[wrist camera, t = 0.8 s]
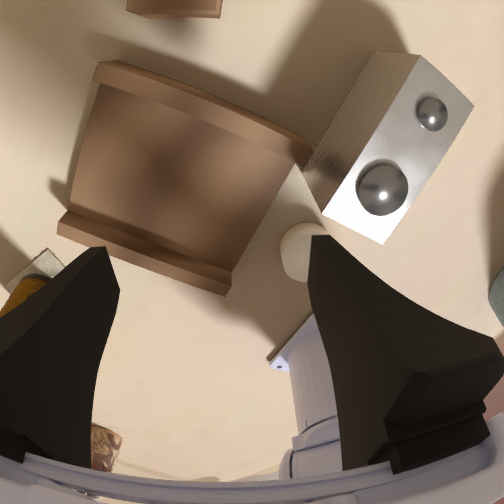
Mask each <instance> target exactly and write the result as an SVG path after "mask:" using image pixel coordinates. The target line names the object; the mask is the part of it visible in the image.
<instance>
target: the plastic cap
mask: <svg viewBox="0 0 504 504" xmlns="http://www.w3.org/2000/svg"><path fill="white" fill-rule="evenodd" d="M312 235H328V233H327V231H326V230H325V229H324V228H323V227H322V226H320V225H318V224H314V223H301V224H298V225H295V226H293V227H291V228H290V229H289V230H287V231H286V232H285V234H284V235H283V237H282V238H281V241H280V253H281V258H282V263H283V268H284V271H285V272H286V274H287V275H288V276H289V277H290V278H292V279H293V280H295V281H299V282H307V280H308V270H309V259H310V248H311V236H312Z"/></svg>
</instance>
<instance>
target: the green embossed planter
mask: <svg viewBox="0 0 504 504" xmlns="http://www.w3.org/2000/svg"><path fill="white" fill-rule="evenodd" d="M489 302H490V305H491V307H492V309H493V311H494V312H495V314H496V316H497V317H498V319H499V321H500V323H501V324H502V326H503V327H504V267H503V268H502V270H501V271H500V272H499V274H498V275H497V277H496V278H495V280H494V282H493V284H492V286H491V289H490V293H489Z"/></svg>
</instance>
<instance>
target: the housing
mask: <svg viewBox="0 0 504 504" xmlns="http://www.w3.org/2000/svg"><path fill="white" fill-rule="evenodd" d="M473 108H474V105H473V104H472V103H471V102H470V101H469V100H468V99H467V98H466V97H465V96H464V95H463V94H462V93H461V92H460V91H459V90H458V89H457V88H456V87H455V86H454V85H453V84H452V83H451V82H450V81H449V80H448V79H447V78H446V77H445V76H444V75H443V74H442V73H441V72H440V71H438V70H437V69H436V68H435V67H434V66H433V65H432V64H431V63H429V62H428V61H427V60H426V59H425V58H424V57H422V56H421V55H415V54H406V53H395V52H382V51H374V52H373V54H372V56H371V57H370V59H369V61H368V62H367V64H366V66H365V67H364V69H363V71H362V72H361V74H360V76H359V77H358V79H357V81H356V82H355V84H354V86H353V87H352V89H351V91H350V92H349V94H348V96H347V97H346V99H345V101H344V102H343V104H342V106H341V107H340V109H339V111H338V112H337V114H336V116H335V117H334V119H333V121H332V122H331V124H330V126H329V127H328V129H327V131H326V132H325V134H324V136H323V137H322V139H321V141H320V142H319V144H318V146H317V147H316V149H315V151H314V152H313V154H312V156H311V157H310V159H309V161H308V162H307V164H306V166H305V167H304V169H303V171H302V172H301V173H302V175H303V177H304V179H305V181H306V183H307V185H308V187H309V189H310V191H311V193H312V195H313V197H314V199H315V201H316V203H317V205H318V207H319V209H320V211H321V213H322V214H323V215H325V216H327V217H329V218H332V219H334V220H336V221H338V222H340V223H342V224H344V225H346V226H348V227H350V228H352V229H354V230H356V231H358V232H360V233H362V234H364V235H366V236H368V237H370V238H372V239H373V240H375V241H377V242H379V243H381V244H383V242H384V241H385V240H386V238H387V237H388V236H389V234H390V233H391V232H392V230H393V229H394V228H395V226H396V225H397V224H398V222H399V221H400V220H401V218H402V217H403V215H404V214H405V213H406V211H407V210H408V208H409V207H410V206H411V204H412V203H413V201H414V200H415V199H416V197H417V196H418V194H419V193H420V191H421V190H422V188H423V187H424V186H425V184H426V183H427V181H428V180H429V178H430V177H431V175H432V174H433V172H434V171H435V169H436V168H437V166H438V165H439V163H440V162H441V160H442V158H443V157H444V155H445V154H446V152H447V151H448V149H449V148H450V146H451V144H452V143H453V141H454V140H455V138H456V136H457V135H458V133H459V131H460V130H461V128H462V126H463V125H464V123H465V121H466V120H467V118H468V116H469V115H470V113H471V111H472V109H473Z"/></svg>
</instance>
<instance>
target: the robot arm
mask: <svg viewBox="0 0 504 504" xmlns="http://www.w3.org/2000/svg"><path fill="white" fill-rule="evenodd" d="M307 283H308V289H309V295H310V300H311V306H312V309H313V314H312V315H310V317H309V318H308V319H307V320H306V321H305V323H304V324H303V325H302V326H301V327H300V328H299V330H298V331H297V332H296V333H295V334H294V335H293V337H292V338H291V339H290V340H289V341H288V342H287V343H286V345H285V346H284V347H283V348H282V349H281V350H280V351H279V352H278V354H277V355H276V356H275V357H274V358H273V359H272V360H271V361H270V363H269V365H270V368H273V369H277V370H282V371H286V372H290V378H291V385H292V392H293V399H294V406H295V413H296V420H297V427H298V434H299V435H298V436H295V437H293V438H292V442H293V449H289V450H287V451H286V453H285V454H284V457H283V459H282V460H281V463H280V467H279V480H269V481H250V482H192V481H175V480H162V479H152V478H143V477H135V476H128V475H121V474H115V473H109V472H103V471H98V470H93V469H92V464H91V421H92V408H93V399H94V391H95V385H96V378H97V373H98V369H99V365H100V361H101V358H102V354H103V351H104V348H105V345H106V342H107V339H108V336H109V333H110V330H111V327H112V324H113V320H114V317H115V314H116V310H117V305H118V300H119V294H120V288H119V285H118V282H117V279H116V276H115V273H114V270H113V267H112V264H111V261H110V258H109V255H108V252H107V249H106V246H100V247H91V248H89V249H88V250H86V251H85V252H83V253H82V254H81V255H79V256H78V257H77V258H76V259H75V260H73V261H72V262H71V263H70V264H69V265H67V266H66V267H65V268H64V269H63V270H62V271H60V272H59V273H58V274H57V275H56V276H55V277H53V278H52V279H51V280H50V281H49V282H47V283H46V284H45V285H44V286H42V287H41V288H40V289H39V290H38V291H36V292H35V293H34V294H33V295H32V296H30V297H29V298H28V299H26V300H25V301H24V302H22V303H21V304H20V305H18V306H17V307H15V308H14V309H13V310H11V311H10V312H8V313H7V314H5V315H4V316H2V317H0V504H106V503H101V502H97V501H95V500H93V499H91V498H90V497H89V496H87V495H86V494H83V493H80V492H77V491H81V492H85V493H89V494H93V495H98V496H102V497H108V498H112V499H118V500H124V501H130V502H136V503H143V504H492V503H494V502H495V501H497V500H499V499H500V498H502V497H504V412H502V413H499V414H497V415H496V416H493V417H492V418H490V419H489V420H487V421H486V422H485V420H484V418H483V415H482V414H483V413H484V412H485V411H486V406H485V404H484V402H483V399H484V398H485V397H486V396H487V395H488V393H489V392H490V391H491V390H492V389H493V387H494V386H495V385H496V384H497V383H498V381H499V380H500V379H501V377H502V376H503V374H504V356H503V355H502V353H501V351H500V349H499V348H498V346H497V344H496V343H495V341H494V339H493V338H492V337H489V336H487V335H484V334H481V333H478V332H476V331H473V330H470V329H467V328H465V327H462V326H460V325H458V324H455V323H453V322H451V321H449V320H447V319H444V318H442V317H440V316H438V315H436V314H434V313H433V312H431V311H429V310H427V309H425V308H424V307H422V306H420V305H418V304H416V303H415V302H413V301H411V300H410V299H408V298H407V297H405V296H404V295H402V294H401V293H399V292H398V291H396V290H395V289H393V288H392V287H390V286H389V285H388V284H386V283H385V282H384V281H382V280H381V279H380V278H379V277H377V276H376V275H375V274H373V273H372V272H371V271H370V270H369V269H367V268H366V267H365V266H364V265H363V264H362V263H360V262H359V261H358V260H357V259H356V258H355V257H354V256H352V255H351V254H350V253H349V252H348V251H347V250H346V249H345V248H344V247H343V246H341V245H340V244H339V243H338V242H337V241H336V240H335V239H334V238H333V237H331V236H330V235H312V236H311V248H310V259H309V270H308V280H307ZM71 489H73V490H71ZM74 490H77V491H74Z"/></svg>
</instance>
